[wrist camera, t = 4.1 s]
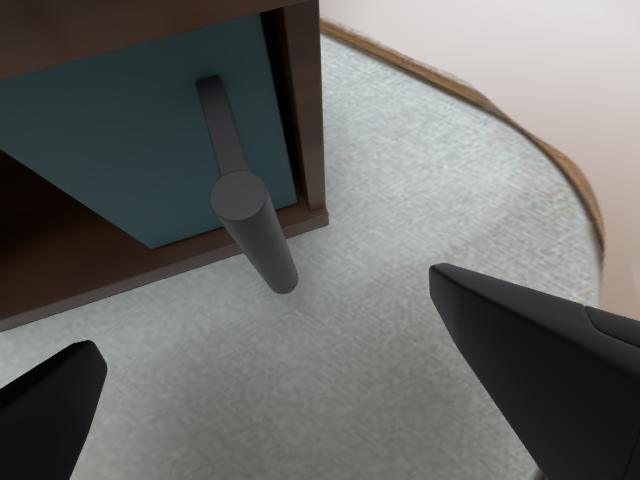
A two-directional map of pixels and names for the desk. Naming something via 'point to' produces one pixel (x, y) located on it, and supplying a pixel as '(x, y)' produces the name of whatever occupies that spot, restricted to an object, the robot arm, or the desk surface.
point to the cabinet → (91, 228)
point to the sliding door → (165, 139)
